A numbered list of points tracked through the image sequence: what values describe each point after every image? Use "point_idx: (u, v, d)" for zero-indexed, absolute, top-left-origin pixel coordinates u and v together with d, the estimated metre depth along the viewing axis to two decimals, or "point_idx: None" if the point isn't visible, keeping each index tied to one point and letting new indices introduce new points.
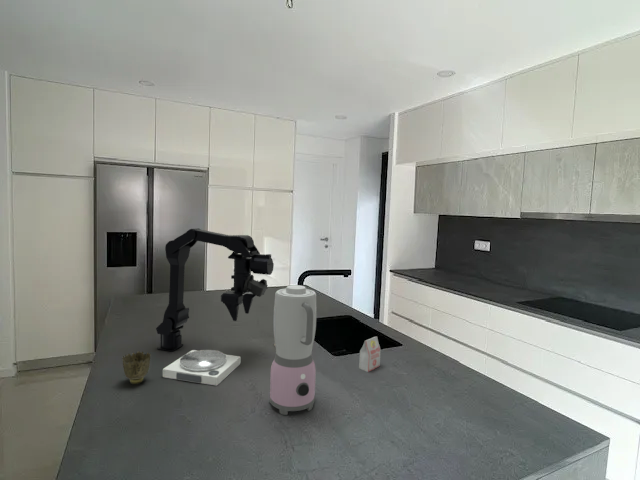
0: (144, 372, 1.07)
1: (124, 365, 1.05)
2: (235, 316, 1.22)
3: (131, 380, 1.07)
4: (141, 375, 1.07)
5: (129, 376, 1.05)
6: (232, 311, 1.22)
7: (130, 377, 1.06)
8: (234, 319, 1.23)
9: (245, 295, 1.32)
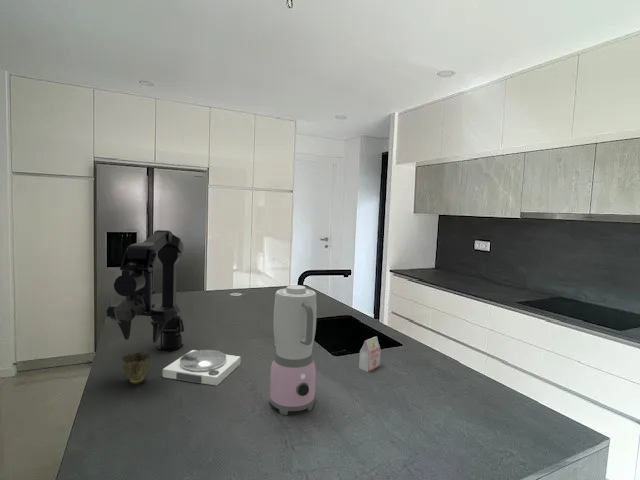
0: (144, 372, 1.07)
1: (124, 365, 1.05)
2: None
3: (131, 380, 1.07)
4: (141, 375, 1.07)
5: (129, 376, 1.05)
6: None
7: (130, 377, 1.06)
8: None
9: None
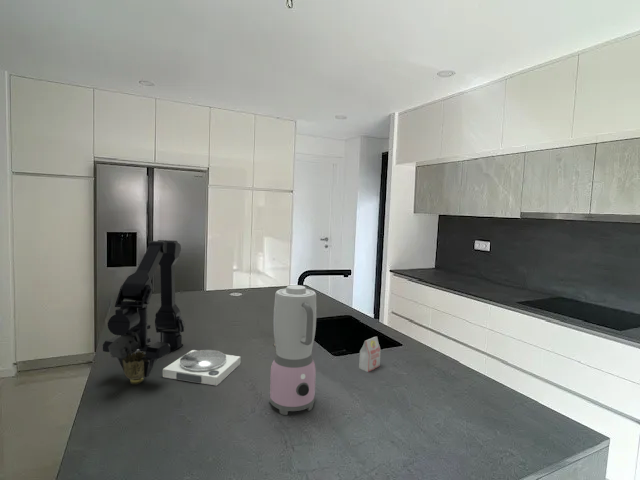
0: None
1: (124, 365, 1.05)
2: None
3: (131, 380, 1.07)
4: (141, 375, 1.07)
5: (129, 376, 1.05)
6: None
7: (130, 377, 1.06)
8: None
9: None
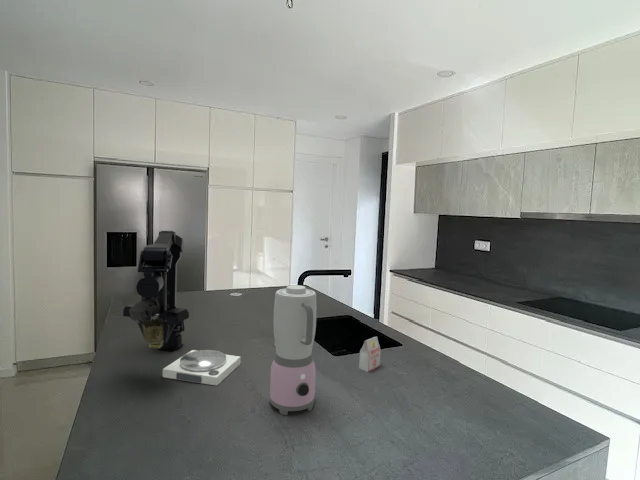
0: (163, 337, 1.09)
1: (144, 329, 1.07)
2: None
3: (150, 345, 1.09)
4: (160, 340, 1.08)
5: (149, 340, 1.07)
6: None
7: (150, 341, 1.07)
8: None
9: None
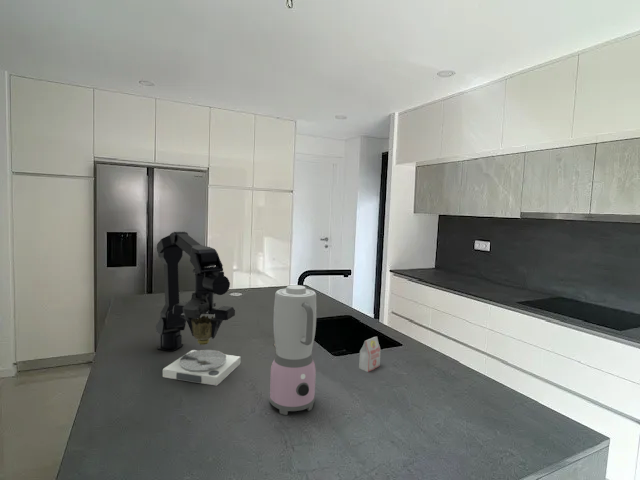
0: (211, 333, 1.16)
1: (194, 326, 1.14)
2: None
3: (199, 341, 1.16)
4: (209, 336, 1.15)
5: (198, 337, 1.14)
6: None
7: (199, 338, 1.14)
8: None
9: None
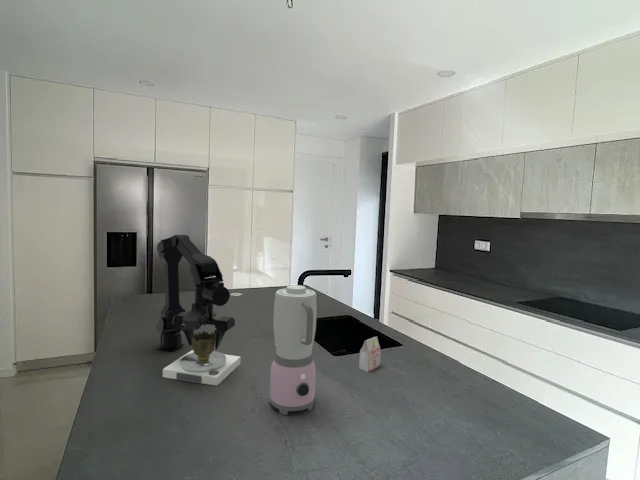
0: (211, 350, 1.16)
1: (194, 343, 1.14)
2: None
3: (199, 357, 1.16)
4: (209, 352, 1.16)
5: (198, 353, 1.15)
6: None
7: (199, 354, 1.15)
8: None
9: None
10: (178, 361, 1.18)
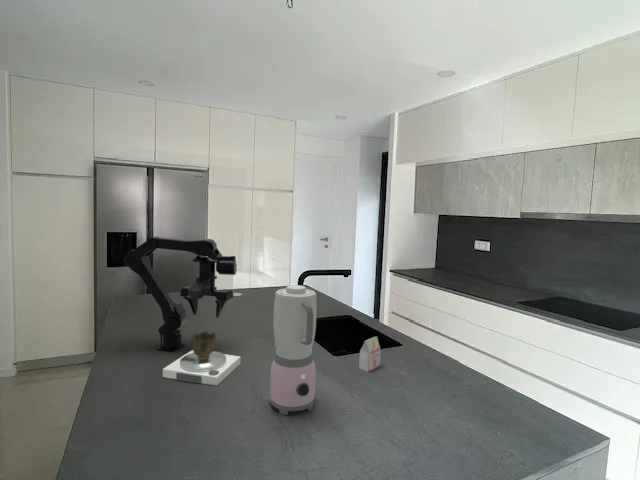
0: (211, 350, 1.16)
1: (194, 343, 1.14)
2: None
3: (199, 357, 1.16)
4: (209, 352, 1.16)
5: (198, 353, 1.15)
6: None
7: (199, 354, 1.15)
8: None
9: None
10: (178, 361, 1.18)
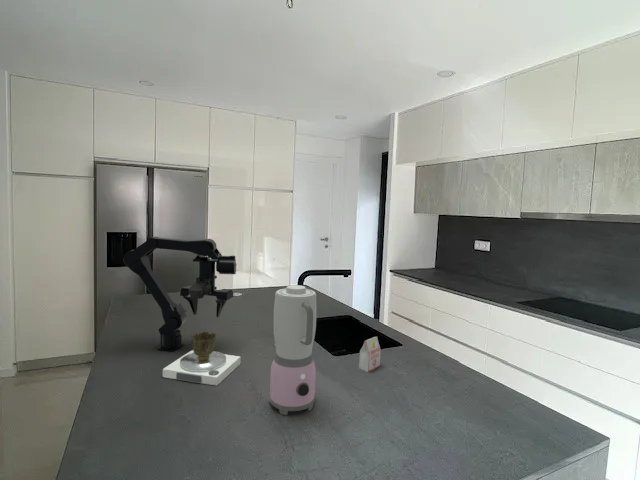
0: (211, 350, 1.16)
1: (194, 343, 1.14)
2: None
3: (199, 357, 1.16)
4: (209, 352, 1.16)
5: (198, 353, 1.15)
6: None
7: (199, 354, 1.15)
8: None
9: None
10: (178, 361, 1.18)
